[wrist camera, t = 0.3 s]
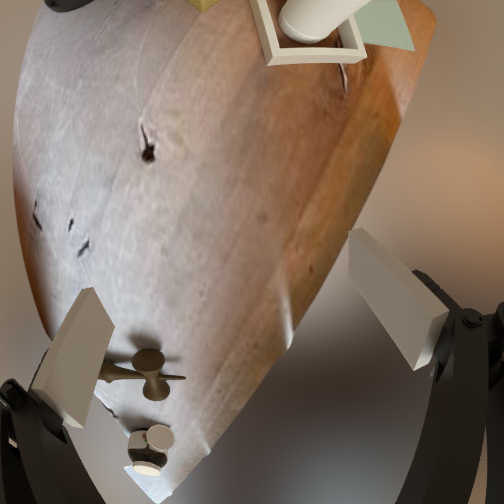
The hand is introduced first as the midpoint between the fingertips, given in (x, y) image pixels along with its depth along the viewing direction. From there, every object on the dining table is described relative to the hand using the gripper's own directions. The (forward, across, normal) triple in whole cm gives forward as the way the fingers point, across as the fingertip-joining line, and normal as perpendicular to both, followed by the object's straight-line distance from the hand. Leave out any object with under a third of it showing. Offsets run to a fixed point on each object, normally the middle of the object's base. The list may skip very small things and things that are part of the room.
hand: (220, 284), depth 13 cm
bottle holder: (+30, +17, +22) cm, 40 cm away
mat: (+31, +32, +26) cm, 51 cm away
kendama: (+22, -24, -29) cm, 44 cm away
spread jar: (+19, -31, -53) cm, 65 cm away
